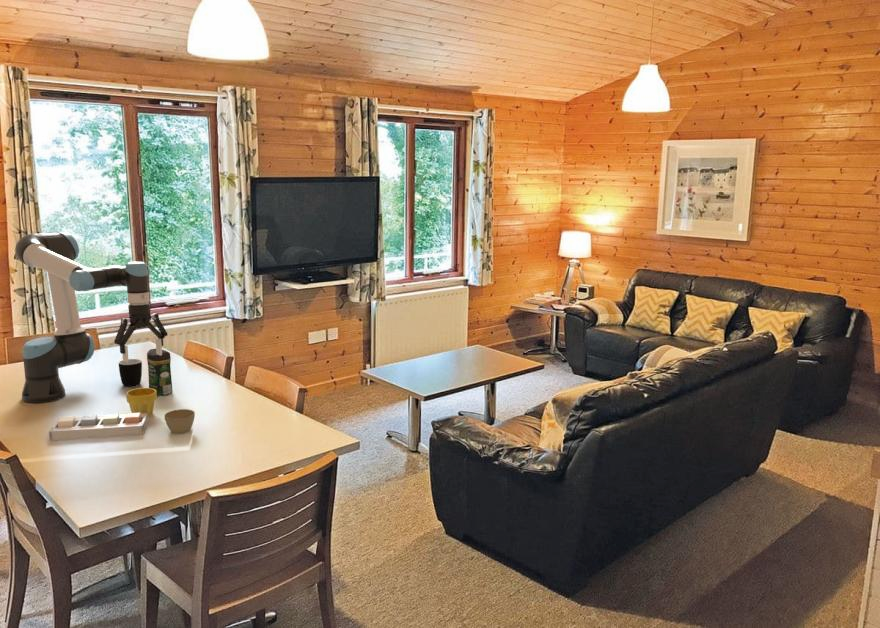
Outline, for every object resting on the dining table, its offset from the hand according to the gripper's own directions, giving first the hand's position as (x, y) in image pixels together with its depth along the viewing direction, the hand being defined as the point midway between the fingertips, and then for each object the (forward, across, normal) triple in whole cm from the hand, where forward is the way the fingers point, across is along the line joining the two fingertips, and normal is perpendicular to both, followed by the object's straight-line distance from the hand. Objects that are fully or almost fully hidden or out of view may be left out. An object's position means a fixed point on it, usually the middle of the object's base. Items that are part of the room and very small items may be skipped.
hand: (142, 358), depth 270 cm
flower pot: (+20, -7, -34) cm, 40 cm away
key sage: (+16, -22, -16) cm, 32 cm away
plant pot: (+20, -6, -9) cm, 23 cm away
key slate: (+16, -27, -12) cm, 34 cm away
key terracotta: (+16, -16, -20) cm, 31 cm away
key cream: (+16, -33, -7) cm, 37 cm away
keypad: (+20, -25, -14) cm, 34 cm away
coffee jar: (+20, +13, +11) cm, 26 cm away
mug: (+19, +12, +33) cm, 40 cm away
